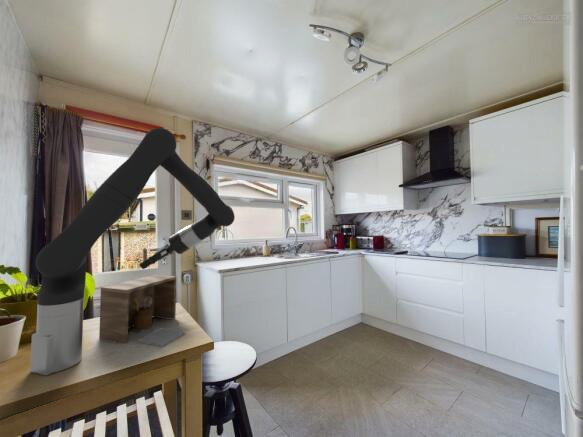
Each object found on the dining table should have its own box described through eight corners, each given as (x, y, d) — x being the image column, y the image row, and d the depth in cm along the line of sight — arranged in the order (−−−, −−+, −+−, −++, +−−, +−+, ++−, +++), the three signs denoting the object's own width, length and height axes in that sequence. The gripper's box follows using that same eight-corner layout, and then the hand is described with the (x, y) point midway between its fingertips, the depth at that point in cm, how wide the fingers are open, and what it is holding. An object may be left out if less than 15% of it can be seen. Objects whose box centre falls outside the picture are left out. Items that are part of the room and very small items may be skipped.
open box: (124, 343, 78) (126, 290, 78) (99, 338, 81) (100, 287, 82) (175, 318, 99) (176, 276, 100) (153, 315, 102) (154, 274, 103)
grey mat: (162, 346, 76) (162, 344, 76) (137, 342, 79) (137, 340, 79) (185, 333, 86) (185, 331, 86) (161, 329, 89) (162, 327, 89)
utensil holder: (155, 326, 92) (156, 294, 92) (138, 332, 86) (139, 298, 86) (145, 323, 94) (145, 292, 94) (128, 329, 88) (129, 296, 89)
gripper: (184, 228, 97) (147, 251, 95) (174, 233, 83) (130, 259, 81) (195, 244, 98) (159, 266, 96) (187, 251, 84) (144, 278, 82)
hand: (146, 263), depth 88 cm, fingers open, 8 cm apart
